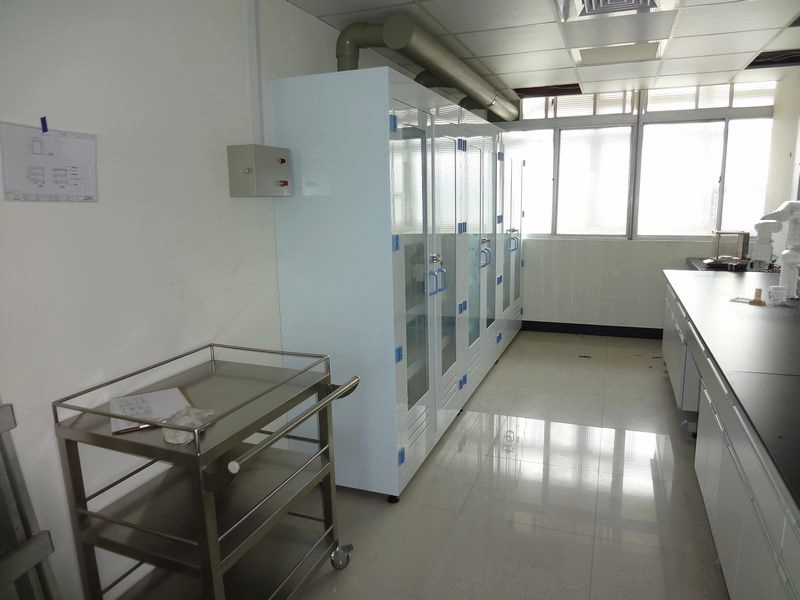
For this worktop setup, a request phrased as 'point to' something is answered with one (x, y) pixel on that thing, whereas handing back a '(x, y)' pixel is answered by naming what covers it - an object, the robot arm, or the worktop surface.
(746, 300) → the tray
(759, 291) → the dowel
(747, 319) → the worktop surface
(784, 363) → the worktop surface
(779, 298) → the ink box
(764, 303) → the shallow wooden box
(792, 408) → the worktop surface
